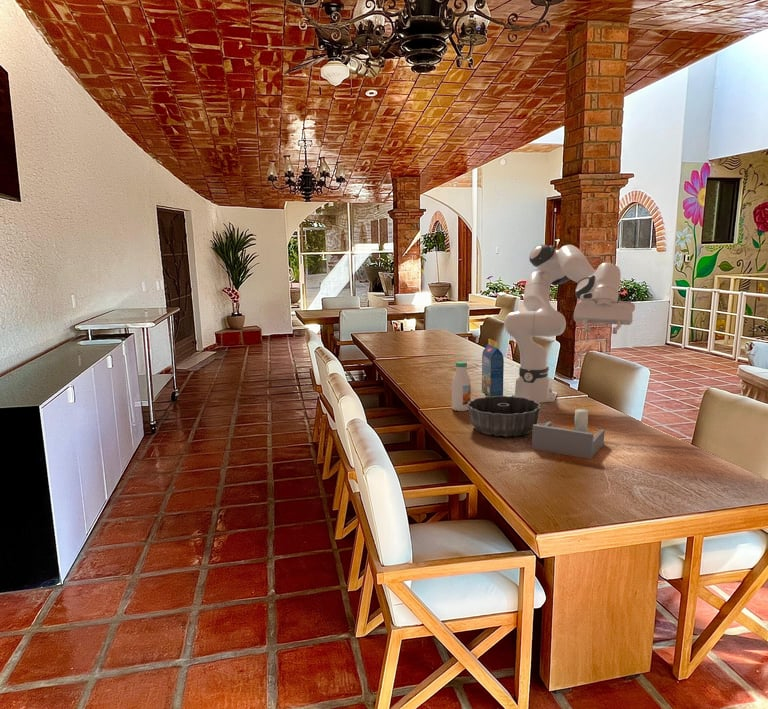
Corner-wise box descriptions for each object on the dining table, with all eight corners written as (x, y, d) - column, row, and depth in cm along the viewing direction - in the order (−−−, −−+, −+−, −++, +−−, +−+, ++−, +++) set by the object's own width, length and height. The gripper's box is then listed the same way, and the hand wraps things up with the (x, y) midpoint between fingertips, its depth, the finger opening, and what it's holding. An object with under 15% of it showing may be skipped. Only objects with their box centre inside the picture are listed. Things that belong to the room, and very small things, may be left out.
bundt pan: (451, 429, 208) (451, 403, 207) (497, 415, 225) (497, 391, 223) (509, 447, 188) (510, 418, 187) (554, 430, 205) (555, 404, 203)
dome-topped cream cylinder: (576, 431, 204) (577, 408, 202) (588, 433, 201) (589, 410, 200) (572, 434, 200) (573, 411, 198) (585, 436, 197) (586, 413, 196)
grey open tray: (547, 434, 200) (548, 413, 199) (603, 444, 190) (604, 421, 188) (532, 448, 187) (532, 425, 185) (591, 459, 176) (592, 434, 175)
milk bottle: (456, 412, 231) (456, 364, 227) (449, 407, 238) (449, 361, 234) (473, 410, 233) (473, 363, 229) (465, 405, 240) (466, 359, 236)
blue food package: (490, 397, 253) (490, 342, 248) (481, 391, 264) (482, 338, 260) (503, 396, 254) (504, 342, 249) (494, 390, 265) (495, 338, 261)
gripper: (635, 306, 207) (631, 338, 201) (577, 304, 216) (572, 334, 210) (635, 296, 202) (632, 329, 196) (576, 294, 211) (570, 325, 205)
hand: (600, 332), depth 203 cm, fingers open, 8 cm apart
